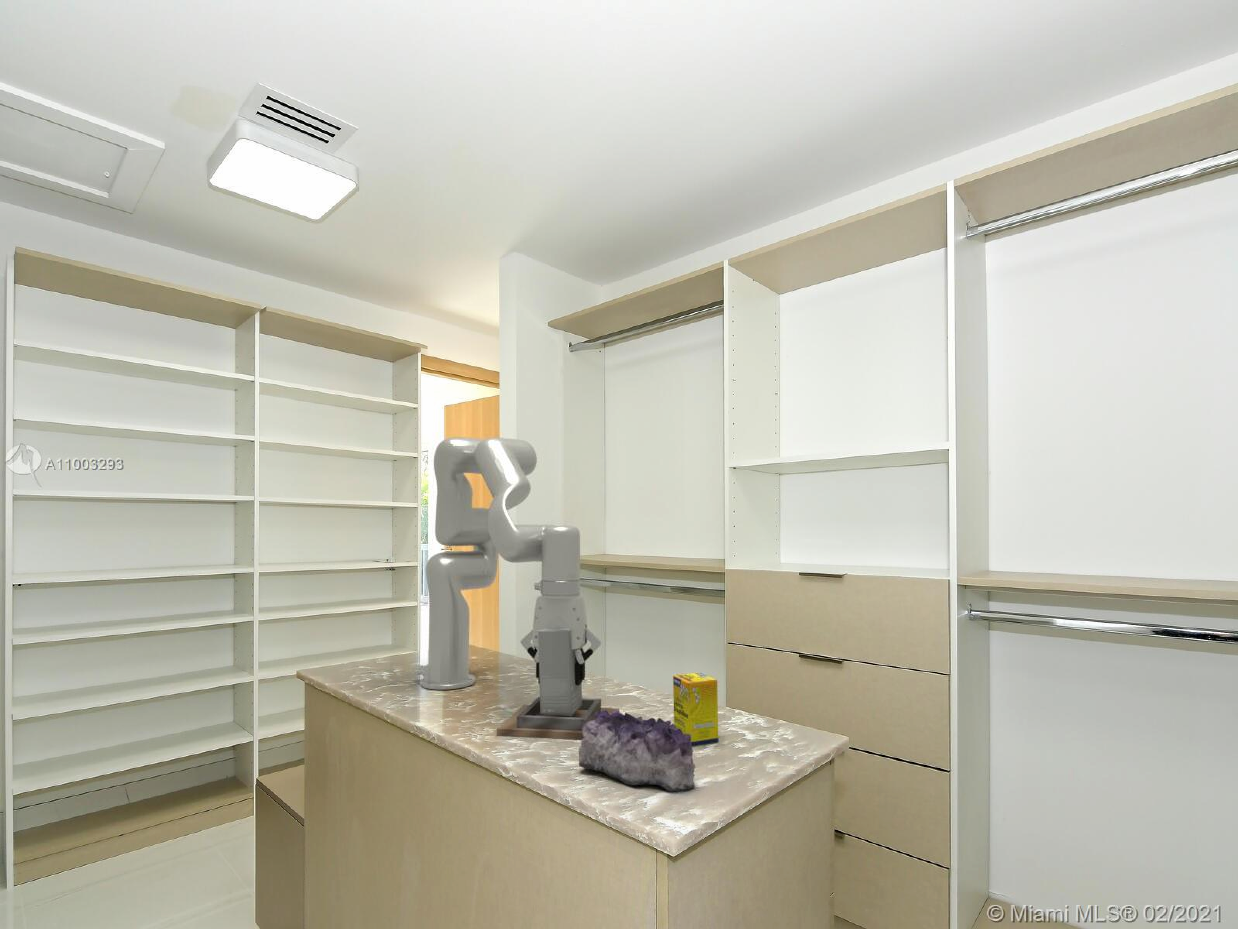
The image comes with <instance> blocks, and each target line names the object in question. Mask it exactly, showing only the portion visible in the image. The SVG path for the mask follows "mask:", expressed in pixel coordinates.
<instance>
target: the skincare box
mask: <svg viewBox="0 0 1238 929" xmlns="http://www.w3.org/2000/svg"><path fill="white" fill-rule="evenodd" d="M538 641H539V676H540V684H539V697H540V712H541V714H547V715H565V716H572V715H573V714H574V713H575V712H576V711H577V710H578V709H579V708H580V706H581V705H582V698H583V694H582V693H583V687H582V683H581V684H580V685H575V665H576V664H577V658H576V656H575V654H574V651H572V649H571V630H570V629H541V630H539V631H538Z"/></svg>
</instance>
